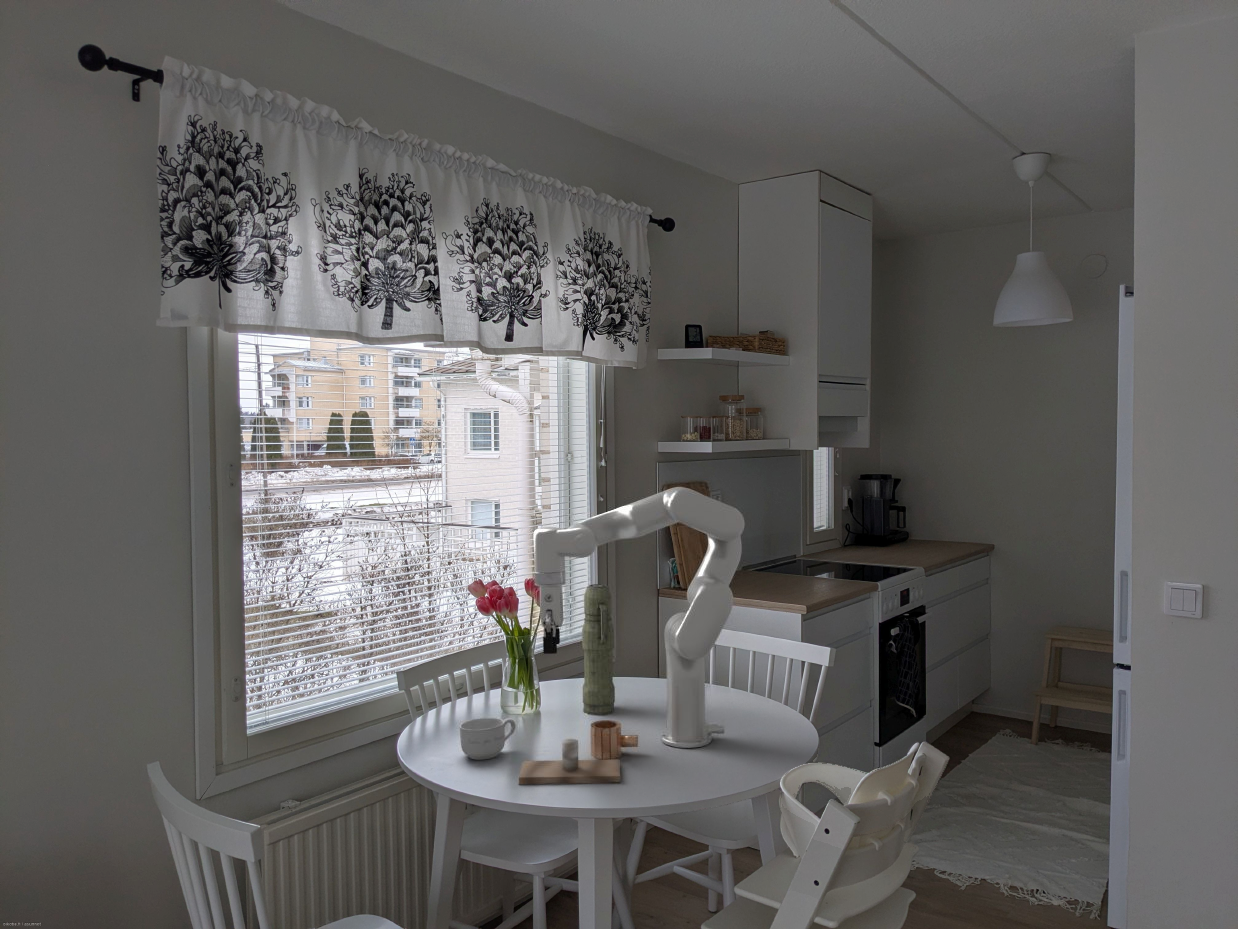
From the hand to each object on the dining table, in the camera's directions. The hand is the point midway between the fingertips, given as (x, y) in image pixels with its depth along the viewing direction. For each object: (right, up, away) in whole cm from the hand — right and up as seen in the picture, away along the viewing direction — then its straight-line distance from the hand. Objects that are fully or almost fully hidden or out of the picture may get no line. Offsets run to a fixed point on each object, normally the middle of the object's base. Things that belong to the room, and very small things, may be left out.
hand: (551, 648), depth 210 cm
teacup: (-15, -25, -4) cm, 29 cm away
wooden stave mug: (+15, -24, -4) cm, 29 cm away
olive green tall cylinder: (+11, -24, +31) cm, 41 cm away
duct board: (+5, -25, -17) cm, 30 cm away
